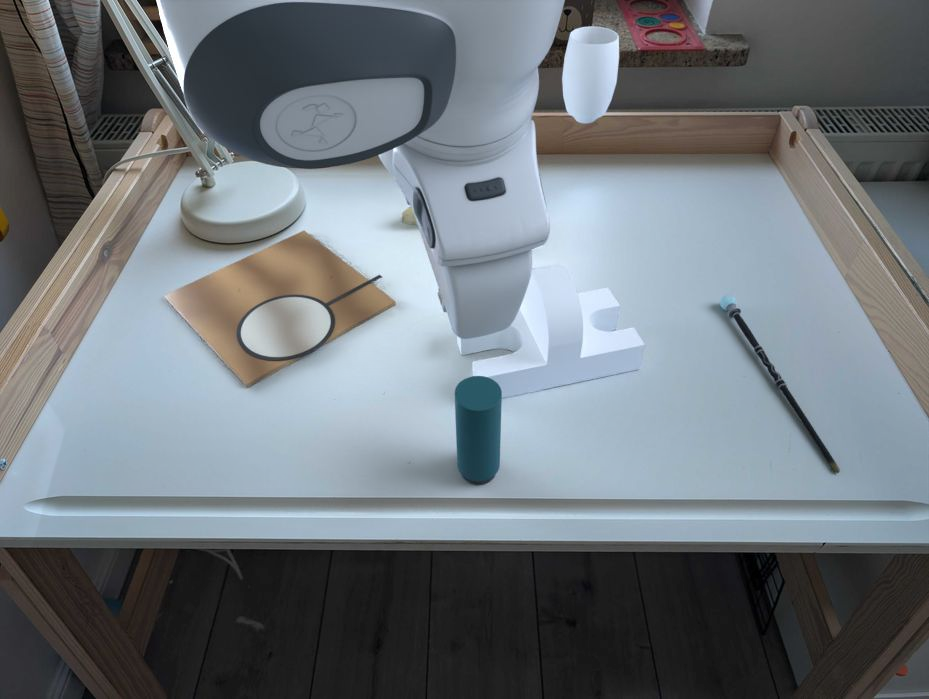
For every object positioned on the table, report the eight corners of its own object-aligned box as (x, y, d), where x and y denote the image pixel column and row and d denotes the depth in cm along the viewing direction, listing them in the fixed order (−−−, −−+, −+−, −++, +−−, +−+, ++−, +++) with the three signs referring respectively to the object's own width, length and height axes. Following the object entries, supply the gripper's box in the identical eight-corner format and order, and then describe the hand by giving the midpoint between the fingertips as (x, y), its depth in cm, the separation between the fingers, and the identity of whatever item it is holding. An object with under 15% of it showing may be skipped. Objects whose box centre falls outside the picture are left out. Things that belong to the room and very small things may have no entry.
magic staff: (831, 480, 68) (827, 473, 67) (720, 305, 85) (715, 297, 84) (849, 471, 67) (845, 464, 66) (733, 297, 85) (729, 289, 83)
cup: (562, 163, 109) (575, 21, 94) (609, 172, 106) (629, 29, 92) (547, 187, 104) (557, 41, 89) (595, 197, 102) (614, 50, 87)
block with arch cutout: (604, 311, 84) (616, 234, 76) (639, 369, 77) (657, 290, 70) (455, 340, 81) (453, 262, 73) (479, 403, 74) (478, 324, 67)
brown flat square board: (250, 391, 76) (248, 386, 76) (165, 299, 87) (163, 294, 87) (409, 301, 86) (408, 296, 86) (315, 229, 97) (314, 224, 97)
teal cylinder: (477, 495, 66) (476, 418, 59) (449, 469, 68) (444, 391, 61) (508, 471, 68) (511, 393, 60) (479, 446, 70) (479, 368, 63)
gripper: (352, -4, 44) (357, 145, 56) (450, 280, 37) (430, 379, 49) (450, -16, 45) (433, 132, 58) (563, 255, 38) (516, 357, 51)
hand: (433, 248), depth 53 cm, fingers open, 8 cm apart
